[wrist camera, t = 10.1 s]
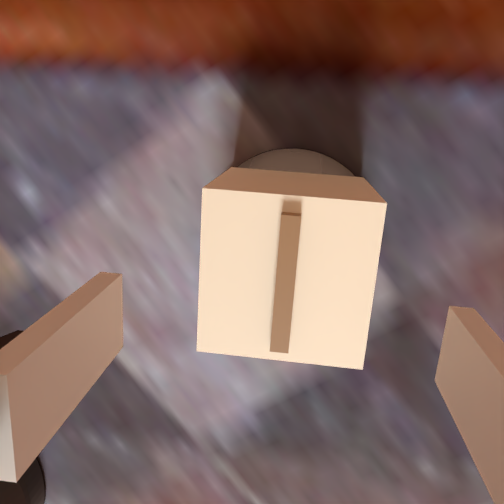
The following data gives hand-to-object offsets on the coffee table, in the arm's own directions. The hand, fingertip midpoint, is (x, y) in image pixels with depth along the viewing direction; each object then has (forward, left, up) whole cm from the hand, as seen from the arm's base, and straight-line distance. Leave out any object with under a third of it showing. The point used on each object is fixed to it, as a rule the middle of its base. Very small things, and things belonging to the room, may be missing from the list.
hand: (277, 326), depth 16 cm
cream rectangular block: (0, 0, -12) cm, 12 cm away
